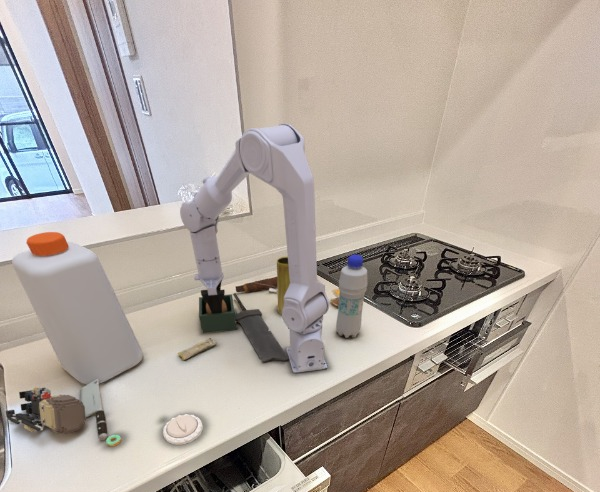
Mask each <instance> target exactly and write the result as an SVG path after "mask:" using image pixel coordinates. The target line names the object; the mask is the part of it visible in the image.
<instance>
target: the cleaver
mask: <svg viewBox="0 0 600 492" xmlns="http://www.w3.org/2000/svg"><path fill="white" fill-rule="evenodd" d="M100 389H101V388H100V383H99V381H98V379H96V380H94V381H93V382H91V383H89V384H85V385H84V386H83V387H81V388H80V389H79V401H82V403H83V405H85V419H87V418H88V417H90V416H92V415H94V414H95V422H96V432H97V436H98V439H99V440H101V441H104V440H105V441H106V440H107V438H108V437H109V436H108V435H109V434H108V425H107V418H106V414H105V410H104V409H103V404H102V398H101V390H100Z"/></svg>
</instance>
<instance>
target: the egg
mask: <svg viewBox="0 0 600 492" xmlns="http://www.w3.org/2000/svg"><path fill="white" fill-rule="evenodd" d="M206 311H207V314H212V313H211V310H210V308H209V306H208V304H207V303H206ZM223 312H227V306H226V304H225V302H224V300H222V313H223Z"/></svg>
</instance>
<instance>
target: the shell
mask: <svg viewBox="0 0 600 492" xmlns="http://www.w3.org/2000/svg"><path fill="white" fill-rule="evenodd" d="M331 293H332V294H333V295H334V297H335V298H331V299H330V303H332V304H333V305H334V306H335V307H338V306H339V294H340V291H339V288H333V289H332V290H331Z"/></svg>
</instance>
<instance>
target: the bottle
mask: <svg viewBox="0 0 600 492" xmlns="http://www.w3.org/2000/svg"><path fill="white" fill-rule="evenodd" d="M363 264H364V258H363V257H362V256H361V255H360V254H351V255H350V256H348V258H347V265H345V266H343V267H342V268H341V270H340V275H339V279H338V290H339V291H340V294H339V306H337V307H338V308H337V315H336V316H337V317H336V323H335V329H336V332H337V334H338V336H339V337H343V336H344V337H345V338H346V339H349V338H350V336H351V337H352V338H355V337H356V336H357V335H358V334H359V333H360V332H361V328H362V321H363V319H362V317H363V307H364V302H365V301H364V300H365V293H366V292H367V290H368V289H367V287H368V283H369V282H368V269H367V268H366V267H364V265H363Z"/></svg>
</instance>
